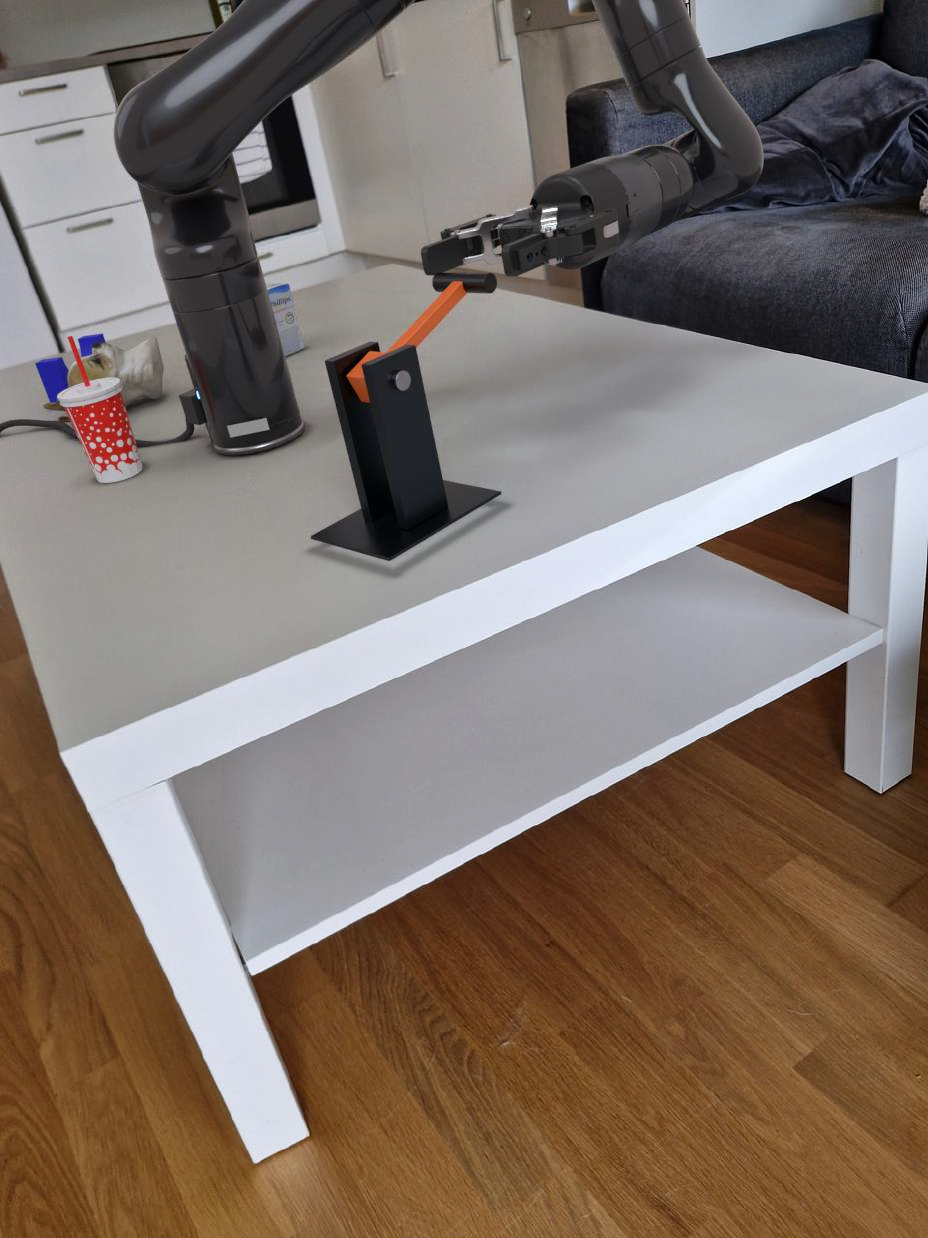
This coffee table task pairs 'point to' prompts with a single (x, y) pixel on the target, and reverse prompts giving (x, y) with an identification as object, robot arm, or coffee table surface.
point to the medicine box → (285, 318)
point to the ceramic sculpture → (120, 371)
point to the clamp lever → (429, 316)
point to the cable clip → (62, 368)
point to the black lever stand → (392, 458)
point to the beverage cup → (102, 425)
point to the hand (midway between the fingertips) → (464, 262)
